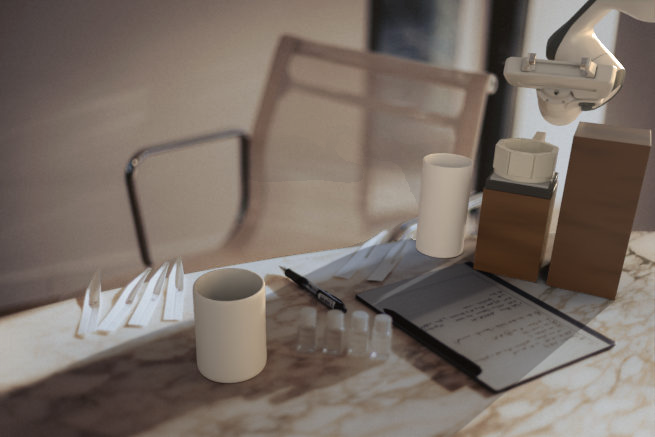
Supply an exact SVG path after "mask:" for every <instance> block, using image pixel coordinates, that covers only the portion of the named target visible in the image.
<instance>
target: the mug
mask: <svg viewBox="0 0 655 437" xmlns="http://www.w3.org/2000/svg"><path fill="white" fill-rule="evenodd" d="M192 303H193V304H192V305H193V319H194V334H195V352H196V365H197V368H198V371H199V372H200V374H201V375H202V376H203V377H204V378H206V379H208V380H210V381H212V382H214V383H215V382H216V383H219V384H220V383H221V384H236V383H241V382H245V381H248V380H250V379H253V378H255V377H256V376H258V375H259V374H260V373H261V372H262V371H263V370H264V369H265V367H266V364H267V360H268V359H267V358H268V351H267V311H266V309H267V308H266V303H267V302H266V282H265V280H264V278H263V277H262V276H261V275H260V274H259V273H257V272H255V271H252V270H249V269H245V268H239V267H228V268H227V267H226V268H219V269H214V270H211V271H208V272H206V273H203V274H202V275H200V276H199V277H197V278H196V279H195V281H194V282H193V285H192Z"/></svg>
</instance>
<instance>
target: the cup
mask: <svg viewBox="0 0 655 437" xmlns="http://www.w3.org/2000/svg"><path fill="white" fill-rule="evenodd" d="M421 168H422V169H421V176H420V178H421V179H420V189H419V190H420V191H419V199H418V200H419V201H418V212H417V222H416V223H417V224H416V233H415V234H416V235H415V249H416V250H417V251H418V252H419V253H421V254H423V255H426V256H427V257H432V258H438V259H451V258H455V257H459V256H460V255H462V253H463V252H464V244H465V237H466V229H467V228H466V227H467V219H468V211H469V205H470V204H469V203H470V196H471V195H470V194H471V187H472V178H473V170H474V161H473V160H472V159H471V158H469V157H468V156H465V155H461V154H456V153H448V152H447V153H446V152H437V153H430V154H426V155H425V156H423V159H422V167H421Z"/></svg>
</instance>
